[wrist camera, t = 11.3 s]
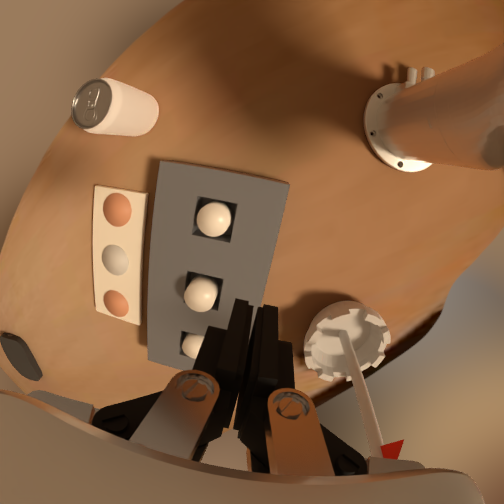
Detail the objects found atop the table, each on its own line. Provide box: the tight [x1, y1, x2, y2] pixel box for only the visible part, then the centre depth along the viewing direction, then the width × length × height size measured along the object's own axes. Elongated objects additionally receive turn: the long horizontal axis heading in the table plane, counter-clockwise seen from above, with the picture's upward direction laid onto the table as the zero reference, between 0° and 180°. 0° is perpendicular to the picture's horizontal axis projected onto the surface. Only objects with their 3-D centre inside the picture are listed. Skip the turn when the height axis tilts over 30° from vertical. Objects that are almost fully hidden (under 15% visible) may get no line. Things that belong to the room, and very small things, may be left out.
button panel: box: [147, 160, 290, 371], centre depth 39 cm, size 32×16×4 cm, turn 168°
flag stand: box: [304, 301, 404, 460], centre depth 27 cm, size 13×13×30 cm
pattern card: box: [93, 185, 149, 325], centre depth 40 cm, size 22×9×1 cm, turn 168°
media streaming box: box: [0, 333, 42, 381], centre depth 53 cm, size 15×15×3 cm
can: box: [71, 78, 159, 136], centre depth 27 cm, size 6×6×12 cm
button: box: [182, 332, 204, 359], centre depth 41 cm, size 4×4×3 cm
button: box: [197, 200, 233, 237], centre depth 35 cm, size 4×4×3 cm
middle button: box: [184, 274, 219, 312], centre depth 36 cm, size 4×4×3 cm
